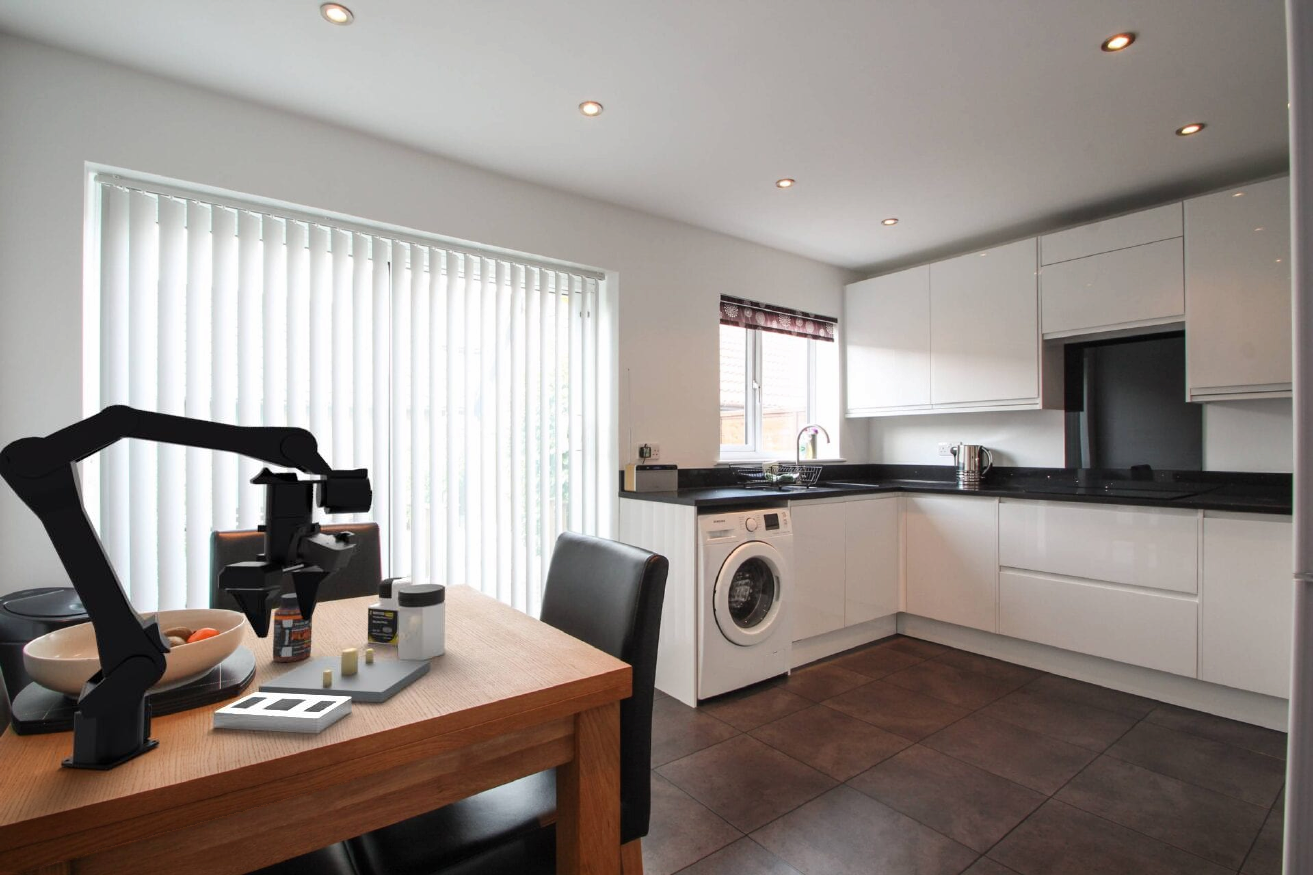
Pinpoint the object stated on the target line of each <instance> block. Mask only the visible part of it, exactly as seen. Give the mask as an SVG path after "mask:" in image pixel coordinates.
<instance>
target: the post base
mask: <svg viewBox="0 0 1313 875" xmlns="http://www.w3.org/2000/svg"><path fill="white" fill-rule="evenodd" d="M340 653H341V655H340V656H319V657H317V658H316V659H313V660H312V661H309V662H307V663H305V664H303V665H301V666H299V667H296V668H294V669H292V670H290V671H288V672H286V673H284V674H282V675H279V676H277V677H275V678H272V679H271V680H269V681H266V682H265V683H262V684H260V685H259V686H258V692H259V693H279V694H300V695H320V696H340V697H351V702H364V703H365V702H366V703H368V702H369V703H384V702H385V701H386V700H389V698H391V697H392V696H393V695H395V694H396V693H398V692H400V691H401V690H403V689H404V688H406V687H407V686H409V685H410V684H412V683H413V682H414V681H416V680H418V679H419V678H420V677H422V676H423V675H425V674H426V673H428V672H429V671H430V670H431V660H423V661H421V660H399V659H394V658H393V659H392V658H374V649H373V648H368V649H365V657H359V649H358V648H356V647H355V648H351V647H350V648H346V649H344V650H341V652H340ZM405 686H406V687H405ZM402 688H403V689H402ZM383 701H384V702H383Z"/></svg>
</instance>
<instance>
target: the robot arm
mask: <svg viewBox="0 0 1313 875" xmlns="http://www.w3.org/2000/svg"><path fill="white" fill-rule="evenodd" d="M123 439H133V440H142V441H147V442H148V441H149V442H155V443H162V444H169V445H177V446H183V447H192V448H199V449H204V450H210V451H211V450H212V451H219V452H225V453H233V454H235V455H239V456H243V457H246V458H249V459H252V460H256V461H258V462H262V463H265V464H269V465H272V466H277V467H279V468H283V469H296V470H298V471H299V472H301V473H303V474H304V475H311V476H312V475H313V476H320V477H319V479H299V477H298V474H297V472H292V471H291V472H273V471H272V470H270V468H269V467H265V466H264V467H262V468H261V470H260V471H258V472H259V473H258V474H256V475H255V476H253V477H252V478H250V479H249V483H250V484H252V485H257V486H258V485H259V486H260V485H261V486H262V485H266V489H265V490H266V491H265V493H266V495H265V514H264V515H265V518H264V519H265V521H264V522H265V523H264V524H258V525H257V527H256V529H257V530H256V533H264V545H263V546H264V547H263V549H264V550H263V553H259V554H256V561H241V562H237V563H233V564H228V565H225V566H224V567H223V568H222V569H221V570H219V571H218V573H217V588H218V590H219V589H220V590H221V589H225V590H224V591H225V593H226V594H230V595H231V596H232V598H233V599H234V600H235V602H236V603H237V605H238V606H239V607H240V609H241V610H242V612H243V614H244V615H245V617H246V619H247V621H248V622H249V624H250V626H251V628H252V630H253V631H254V633H255V636H256V637H257V638H258V639H267V637H268V636H269V631H270V626H271V625H270V624H271V619H272V618H271V617H272V610H273V600H274V598H275V596H276V595H277V594H279V592H280V591H281V590H282V589H283V587H284V585H280V583H281V581H282V580H283V577H284V575H285V574H289V573H291V578H292V582H293V586H294V590H295V591H294V593H296V596H297V601H298V605H299V610H300V613H301V616H302V619H303V620H310V619H311V618H312V619H313V616H314V613H315V609H316V607H317V603H318V601H319V598H320V595H321V593H322V590H323V588H324V586H325V583H326V582H327V581H328V580H329V579H330V578H331V577H332V576H334V575H335V574H336V573H338V572H339V570H340V569H341V568H343V569H344V568H347V565H348V564H349V561H350V558H351V556H354V555H355V556H356V555H357V554H358V553H357V552H358V551H357V549H356V547H357V542H356V541H357V540H356V534H355V533H353V532H350V531H348V530H346V531H340V532H339V533H338V534H337V535H336V536H335V535H333V534H331V535H327V534H324V533H322V525H321V524H320V522H319V521H313V515H314V514H313V513H314V512H313V511H314V486H315V485H316V488H315V504H316V507H317V509H321V508H322V509H323V511H324V513H325V515H343V514H347V515H348V514H363V513H364V514H367V513H369V512H370V510H371V507H372V504H373V489H372V487H371V486H372V485H371V481H370V477H369V469H368V468H365V467H363V468H361V467H359V468H357V467H356V468H352V469H332V467H331V466H330V465H329V463H328V462H327V461H326V460H325V459H324V458H323V456H322V455H321V454H320V453H319V450H318V447H319V446H318V445H319V444H318V442H317V439H316V437H315V436H314V434H312V432H311V431H310V430H308V429H305V428H303V427H299V426H249V425H248V426H247V425H246V426H241V425H236V424H230V423H223V422H219V421H217V422H216V421H211V420H204V419H199V418H193V417H186V416H181V415H180V416H179V415H174V414H168V413H163V412H157V411H150V410H145V409H138V408H135V407H131V406H129V405H126V404H111V405H108V406H106V407H105V408H103V409H102V410H101V411H99V412H97V413H95V414H93V415H91V416H89V417H86V418H84V419H82V420H80V421H77V422H75V423H73V424H71V425H68V426H65V427H63V428H61V429H58V430H57V431H55V432H53V433H50V434H48V435H47V436H44V437H41V436H29V437H21V438H18V439H15V440H13V441H11V442H9V443H8V444H6V446H4V447H3V448H2V450H0V476H1V478H2V479H3V480H4V481H5V482H6V484H8V486H9V487H10V489H12V491H13V492H14V493H15V494H16V496H17V497H18V498H19V499H20V500H21V501H22V502H23V504H25V505H26V507H28V509H30V511H31V512H32V513H33V514H34V515H35V516H36V517H37V518H38V519H39V520H40V522H41V524H42V526H43V528H44V529H45V531H46V534H47V536H48V538H49V539H50V541H51V544H52V545H53V548H54V549H55V551H56V553H57V555H58V558H59V560H60V562H61V564H62V566H63V568H64V570H65V572H66V574H67V576H68V577H69V580H70V581H71V583H72V586H73V588H74V590H75V591H76V594H77V595H78V598H79V601H80V602H81V604H82V606H83V608H84V610H85V612H86V614H87V615H88V618H89V620H90V623H91V624H92V627H93V628H94V629H93V630H94V636H95V642H96V647H97V648H96V649H97V654H98V659H99V664H100V665H99V666H100V668H99V669H98V670H97V671H95V673H94V674H92V675H91V676H90V677H89V678H87V679H86V680H85V681H84V682H83V683H84V684H83V686H82V690H81V692H80V696H79V698H78V701H77V708H78V709H79V710H78V711H75V712H74V714H73V715H74V721H73V722H74V723H73V747H72V748H73V749H72V756H70V757H68V758H65V759H63V760H61V761H60V767H63V768H65V767H66V768H67V767H68V768H78V769H80V768H81V769H94V770H95V769H97V770H108V769H111V768H113V767H116V766H117V765H120V764H122V763H124V762H126V761H128V760H130V759H132V758H134V757H136V756H138V755H140V754H142V753H144V752H147V751H149V750H150V749H153V748H154V747H156V746H159V744H160V739H150V738H151V735H152V734H151V732H152V708H153V707H152V704H151V703H150V693H146V692H147V691H148V690H149V689H151V688H152V687H154V686H155V685H156V684H158V682H159V681H161V679H162V678H163V677H164V674H165V672H166V670H167V665H168V660H167V659H168V658H167V654H170V653H171V652H172V649H171V640H170V638H169V637H168V636H166V635H165V634H164V633H163V631H162V629H161V625H160V620H159V617H158V614H157V613H154V614H152V615H151V616H148V618H146V619H144V618H143V617H142V616H141V615H140V614H139V612H138V611H136V609H135V608H134V607H133V605H132V603H131V601H130V599H129V597H128V595H127V593H126V591H125V588H124V586H123V584H122V583H121V580H120V578H119V576H118V574H117V571H116V570H115V568H114V565H113V564H112V561H111V559H110V556H109V555H108V554H107V551H106V548H105V547H104V545H103V543H102V541H101V538H100V537H99V535H98V532H97V531H96V528H95V526H94V524H93V522H92V520H91V518H90V515H89V514H88V512H87V509H86V508H85V504H84V495H83V491H82V490H83V489H82V484H81V479H80V478H81V477H80V474H79V469H78V463H79V462H82V461H84V460H85V459H87V458H89V457H91V456H93V455H95V454H97V453H99V452H101V451H102V450H104V449H106V448H108V447H110V446H112V445H114V444H115V443H117V442H119V441H122V440H123Z"/></svg>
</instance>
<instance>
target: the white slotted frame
mask: <svg viewBox="0 0 1313 875" xmlns="http://www.w3.org/2000/svg"><path fill="white" fill-rule="evenodd" d="M351 712H352V701H351V697H340V696H320V695H300V694H279V693H259V691H257V692H256V691H255V692H254V693H251V694H249V695H247V696H245V697H243V698H241V699H238V700H237V701H235V702H233V703H230V704H228V705H226V706H224V707H221V708H219V709H218V710H216V711H214V712H213V728H215V729H216V728H217V729H219V728H220V729H232V730H233V729H235V730H247V731H248V730H250V731H267V732H268V731H270V732H282V733H283V732H284V733H300V734H301V733H302V734H303V733H304V734H319V733H320V732H322V731H323V730H325V729H326V728H328V727H330V726H331V725H333V724H334V723H336V722H337V721H339V720H340V719H342V718H343V717H345V716H346V715H348V714H350V713H351Z"/></svg>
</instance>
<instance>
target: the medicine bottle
mask: <svg viewBox="0 0 1313 875" xmlns="http://www.w3.org/2000/svg"><path fill="white" fill-rule="evenodd" d="M412 583H413V582H412V579H410V578H407V577H403V576H402V577H401V576H398V577H390V578H386V579H383V580H381V581H380V582H379V583H378V602H379V603H375V604H371V605H369V606H368V607H367V643H368V644H369V643H370V644H378V645H387V646H388V645H389V646H398V590H399V589H401V588H403V587H407V586H412V585H413V584H412Z"/></svg>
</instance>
